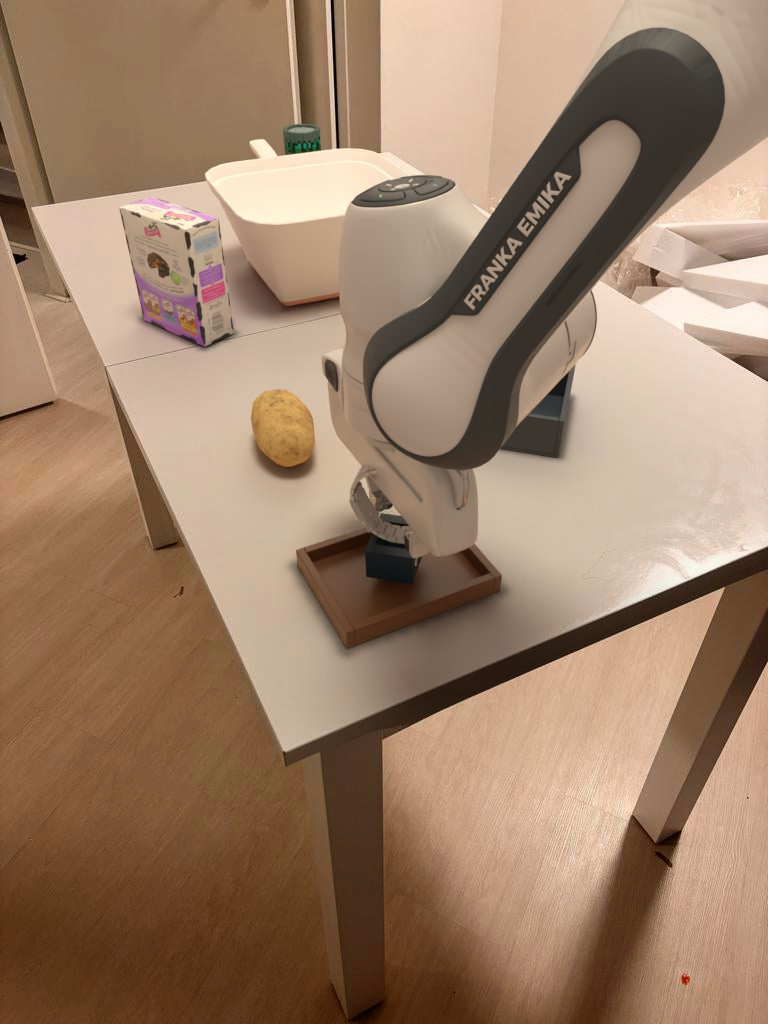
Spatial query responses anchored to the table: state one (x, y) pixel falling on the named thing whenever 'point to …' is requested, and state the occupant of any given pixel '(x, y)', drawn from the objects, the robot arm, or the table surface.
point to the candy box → (179, 269)
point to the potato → (283, 427)
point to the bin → (544, 422)
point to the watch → (383, 537)
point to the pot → (296, 213)
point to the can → (301, 138)
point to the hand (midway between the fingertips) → (398, 527)
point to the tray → (389, 586)
